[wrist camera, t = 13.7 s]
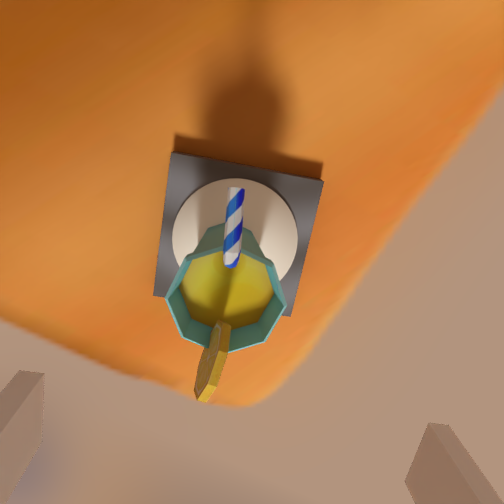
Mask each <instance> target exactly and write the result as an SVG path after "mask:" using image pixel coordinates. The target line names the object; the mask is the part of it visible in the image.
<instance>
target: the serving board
mask: <svg viewBox="0 0 504 504" xmlns="http://www.w3.org/2000/svg"><path fill="white" fill-rule="evenodd" d="M323 184H324V181H322V180H321V179H317V178H311V177H306V176H301V175H296V174H290V173H285V172H280V171H275V170H269V169H264V168H259V167H254V166H249V165H243V164H238V163H233V162H228V161H222V160H217V159H212V158H207V157H202V156H196V155H191V154H186V153H181V152H175V151H173V152H171V158H170V166H169V174H168V182H167V190H166V198H165V205H164V213H163V221H162V229H161V237H160V245H159V253H158V261H157V269H156V277H155V285H154V292H153V296H159V297H165V296H166V294H167V292H168V290H169V288H170V286H171V284H172V282H173V280H174V278H175V276H176V274H177V272H178V270H179V268H180V266H181V264H182V262H183V260H184V258H185V257H186V255H187V254H190V253H193V252H194V250H195V249H196V247H197V245H198V244H199V242H200V240H201V239H202V237H203V235H204V234H205V232H206V230H207V229H208V228H209V227H212V226H215V225H219V224H222V223H225V220H226V208H227V196H228V188H229V187H237V188H243V189H245V196H244V212H243V227H244V228H246V229H248V230H250V231H252V233H253V235H254V237H255V239H256V241H257V243H258V244H259V246H260V248H261V250H262V252H263V254H264V256H265V257H266V258H268V259H270V260H272V262H273V263H274V265H275V268H276V271H277V275H278V278H279V281H280V284H281V287H282V290H283V294H284V297H285V300H286V303H287V307H286V308H285V310H284V312H283V313H282V315H283V316H289V317H291V313H292V309H293V305H294V301H295V297H296V293H297V289H298V285H299V281H300V277H301V273H302V269H303V265H304V261H305V257H306V252H307V248H308V244H309V240H310V236H311V232H312V228H313V224H314V220H315V216H316V212H317V208H318V204H319V200H320V196H321V192H322V188H323Z"/></svg>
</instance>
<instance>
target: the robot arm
mask: <svg viewBox="0 0 504 504" xmlns="http://www.w3.org/2000/svg"><path fill="white" fill-rule="evenodd" d="M43 400H44V373H36V372H29V371H21V370H19V372H18V373H17V374H16V375H15V376H14V378H13V379H12V380H11V381H10V382H9V383H8V384H7V386H6V387H5V388H4V389H3V390H2V392H1V393H0V504H6V502H7V500H8V499H9V497H10V495H11V493H12V492H13V490H14V489H15V487H16V485H17V483H18V482H19V480H20V478H21V477H22V475H23V473H24V471H25V470H26V468H27V466H28V465H29V463H30V461H31V459H32V458H33V456H34V454H35V453H36V451H37V449H38V448H39V446H40V444H41V442H42V426H43ZM405 483H406V485H407V487H408V490H409V491H410V494H411V496H412V498H413V500H414V502H415V504H504V503H503V502H502V500H501V499H500V497H499V496H498V494H497V493H496V491H495V490H494V489H493V487H492V486H491V484H490V483H489V482H488V480H487V479H486V477H485V476H484V474H483V473H482V472H481V470H480V469H479V467H478V466H477V465H476V463H475V462H474V460H473V459H472V457H471V456H470V455H469V453H468V452H467V450H466V449H465V448H464V446H463V445H462V443H461V442H460V441H459V439H458V438H457V436H456V435H455V433H454V432H453V431H452V429H451V428H450V427H449V425H443V424H435V423H428V425H427V428H426V430H425V433H424V435H423V438H422V440H421V443H420V445H419V447H418V450H417V452H416V455H415V457H414V460H413V462H412V465H411V467H410V470H409V472H408V475H407V477H406V479H405Z"/></svg>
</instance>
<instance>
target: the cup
mask: <svg viewBox="0 0 504 504" xmlns="http://www.w3.org/2000/svg"><path fill="white" fill-rule="evenodd" d="M244 196H245V189H243V188H237V187H229V188H228V196H227V208H226V220H225V223H222V224H219V225H215V226H212V227H209V228H208V229H207V230H206V232H205V234H204V235H203V237H202V239H201V240H200V242H199V244H198V245H197V247H196V249H195V250H194V252H193V253H190V254H187V255H186V257H185V258H184V260H183V262H182V264H181V266H180V268H179V270H178V272H177V274H176V276H175V278H174V280H173V282H172V284H171V286H170V288H169V290H168V292H167V294H166V296H165V300H166V302H167V305H168V307H169V309H170V312H171V314H172V316H173V319H174V321H175V324H176V326H177V328H178V331H179V333H180V335H181V337H182V338H184V339H186V340H189V341H191V342H193V343H196V344H198V345H201V346H203V347H204V350H203V353H202V356H201V359H200V362H199V366H198V371H197V377H196V382H195V387H194V392H195V395H196V399H197V400H198V401H201V402H205V403H206V402H207V400H208V399H209V397H210V396H211V395H212V393H213V392H214V390H215V389H216V387H217V385H218V382H219V379H220V376H221V373H222V370H223V367H224V364H225V361H226V358H227V355H228V353H230V352H233V351H237V350H240V349H243V348H247V347H250V346H253V345H257V344H260V343H263V342H266V340H267V338H268V337H269V335H270V333H271V332H272V330H273V328H274V327H275V325H276V323H277V322H278V320H279V318H280V317H281V315H282V313H283V312H284V310H285V308H286V307H287V303H286V300H285V297H284V294H283V290H282V287H281V284H280V281H279V278H278V275H277V271H276V268H275V265H274V263H273V262H272V260H270V259H268V258H266V257H265V256H264V254H263V252H262V250H261V248H260V246H259V244H258V243H257V241H256V239H255V237H254V235H253V233H252V231H250V230H248V229H246V228H244V227H243V212H244Z"/></svg>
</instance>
